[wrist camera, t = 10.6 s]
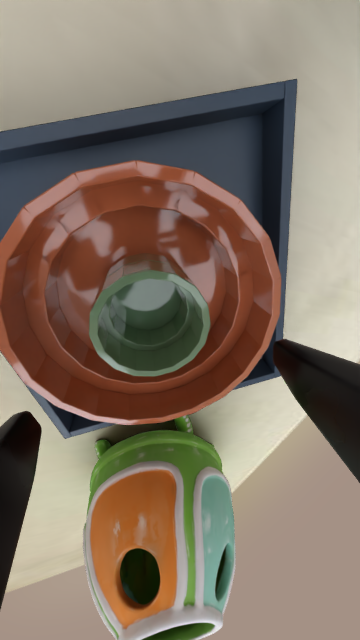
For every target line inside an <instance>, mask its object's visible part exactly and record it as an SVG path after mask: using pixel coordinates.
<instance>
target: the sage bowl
mask: <svg viewBox="0 0 360 640" xmlns="http://www.w3.org/2000/svg"><path fill="white" fill-rule="evenodd" d="M210 326H211V322H210V315H209V307H208V304H207V302H206V301H205V299H204V298H203V296H202V295H201V293H200V291H199V290H198V288H197V287H196V286H195V284H194V283H193V282H192V281H191V279H190V278H189V277H188V275H187V274H186V273H185V272H184V270H183V269H182V268H181V267H180V266H179V265H178V264H176V263H175V262H173V261H172V260H170V259H168V258H167V257H164V256H162V255H156V254H150V253H141V254H137V255H132V256H128V257H125V258H123V259H122V260H121V261H119V262H118V263H117V264H115V265H114V266H113V267H111V268H110V269H109V270H108V272H107V274H106V276H105V277H104V279H103V281H102V283H101V285H100V287H99V290H98V293H97V295H96V298H95V300H94V303H93V306H92V308H91V311H90V315H89V337H90V339H91V341H92V343H93V345H94V347H95V350H96V352H97V354H98V355H99V356H100V357H101V358H102V359H103V360H105V361H106V362H107V363H108V364H109V365H110V366H111V367H113V368H114V369H116V370H119V371H122V372H124V373H127V374H130V375H133V376H153V377H155V376H159V375H163V374H166V373H170V372H174V371H176V370H178V369H179V368H181V367H182V366H184V365H185V364H187V363H189V362H190V361H192V359H194V358H195V356H196V355H197V354H198V352H199V351H200V350H201V349H202V347H203V346H204V345H205V343H206V339H207V336H208V333H209V329H210Z"/></svg>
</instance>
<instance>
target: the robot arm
mask: <svg viewBox="0 0 360 640" xmlns="http://www.w3.org/2000/svg"><path fill="white" fill-rule="evenodd" d="M273 362H274V364H275V366H276V368H277V369H278V371H279V373H280V374H281V376H282V378H283V379H284V381H285V382H286V384H287V386H288V387H289V389H290V391H291V392H292V394H293V395H294V397H295V399H296V400H297V401H298V403H299V404H300V405H301V407H302V408H303V409H304V411H305V412H306V413H307V415H308V416H309V417H310V419H311V420H312V421H313V422H314V424H315V425H316V426H317V428H318V429H319V430H320V431H321V433H322V434H323V436H324V437H325V438H326V439H327V441H328V442H329V443H330V445H331V446H332V447H333V449H334V450H335V451H336V452H337V454H338V455H339V456H340V458H341V459H342V460H343V462H344V463H345V464H346V465H347V467H348V468H349V470H350V471H351V472H352V473H353V475H354V476H355V477H356V479H357V480H358V481H359V483H360V364H357V363H354V362H351V361H348V360H345V359H342V358H339V357H336V356H334V355H331V354H328V353H325V352H322V351H319V350H316V349H313V348H310V347H307V346H304V345H301V344H298V343H295V342H293V341H290V340H287V339H282V340H278V341H275V342H274V344H273ZM40 439H41V426H40V424H39V423H38V422H37V420H36V419H35V418H34V416H33V415H32V414H31V413H30V412H28V411H24V412H20V413H17V414H14V415H13V416H12V417H11V418H10V419H8V420H7V421H6V422H5V423H4V424H3V425H2V426H1V427H0V609H1V605H2V601H3V598H4V594H5V590H6V586H7V582H8V578H9V574H10V571H11V567H12V563H13V559H14V555H15V551H16V547H17V543H18V540H19V536H20V532H21V528H22V524H23V520H24V516H25V512H26V509H27V505H28V501H29V497H30V493H31V489H32V485H33V481H34V476H35V471H36V464H37V458H38V451H39V445H40Z"/></svg>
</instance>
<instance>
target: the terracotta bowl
mask: <svg viewBox="0 0 360 640" xmlns="http://www.w3.org/2000/svg"><path fill="white" fill-rule="evenodd" d="M141 253H150V254H156V255H162V256H164V257H167V258H168V259H170V260H172V261H173V262H175V263H176V264H178V265H179V266H180V267H181V268H182V269H183V270H184V272H185V273H186V274H187V275H188V277H189V278H190V279H191V281H192V282H193V283H194V284H195V286H196V287H197V288H198V290H199V291H200V293H201V295H202V296H203V298H204V299H205V301H206V302H207V304H208V307H209V315H210V322H211V326H210V329H209V333H208V336H207V339H206V343H205V345H204V346H203V347H202V349H201V350H200V351H199V352H198V354H197V355H196V356H195V358H194V359H192V361H190V362H189V363H187V364H185V365H184V366H182V367H181V368H179V369H178V370H176V371H174V372H170V373H166V374H163V375H159V376H155V377H153V376H133V375H130V374H127V373H124V372H122V371H119V370H116V369H114V368H113V367H111V366H110V365H109V364H108V363H107V362H106V361H105V360H103V359H102V358H101V357H100V356H99V355H98V354H97V352H96V350H95V347H94V345H93V343H92V341H91V339H90V337H89V315H90V311H91V308H92V306H93V303H94V300H95V298H96V295H97V293H98V290H99V287H100V285H101V283H102V281H103V279H104V277H105V276H106V274H107V272H108V270H109V269H110V268H111V267H113V266H114V265H115V264H117V263H118V262H119V261H121V260H122V259H123V258H125V257H128V256H132V255H137V254H141ZM280 300H281V274H280V270H279V267H278V264H277V260H276V257H275V254H274V250H273V247H272V243H271V240H270V238H269V236H268V234H267V233H266V232H265V230H264V229H263V228H262V226H261V225H260V224H259V222H258V221H257V220H256V218H255V217H254V216H253V214H252V213H251V212H250V210H249V209H248V208H247V206H246V205H245V204H244V202H243V201H242V200H241V199H240V198H238V197H237V196H235V195H234V194H232V193H230V192H229V191H227V190H225V189H224V188H222V187H221V186H219V185H217V184H216V183H214V182H213V181H211V180H209V179H208V178H206V177H205V176H203V175H201V174H200V173H198V172H196V171H194V170H189V169H184V168H178V167H173V166H167V165H162V164H157V163H151V162H146V161H140V160H132V161H127V162H122V163H117V164H112V165H106V166H101V167H96V168H91V169H86V170H81V171H76V172H75V173H72V174H70V175H69V176H67V177H66V178H64V179H63V180H61V181H60V182H58V183H57V184H55V185H54V186H52V187H51V188H49V189H48V190H46V191H45V192H43V193H42V194H40V195H39V196H37V197H36V198H34V199H33V200H31V201H30V202H28V203H27V204H25V205H24V207H22V209H21V210H20V212H19V213H18V215H17V217H16V218H15V220H14V221H13V223H12V224H11V226H10V228H9V229H8V231H7V232H6V234H5V236H4V237H3V239H2V240H1V242H0V351H1V352H2V354H3V355H4V356H5V358H6V359H7V360H8V362H9V363H10V365H11V366H12V367H13V369H14V370H15V371H16V373H17V374H18V375H19V377H20V378H21V379H22V381H23V382H24V383H25V384H26V385H27V386H29V387H30V388H32V389H33V390H34V391H36V392H37V393H38V394H40V395H41V396H42V397H44V398H45V399H47V400H48V401H49V402H51V403H52V404H53V405H55V406H57V407H58V408H61V409H64V410H66V411H69V412H71V413H74V414H77V415H79V416H82V417H84V418H87V419H90V420H93V421H100V422H107V423H115V424H122V425H137V424H150V423H161V422H166V421H169V420H172V419H176V418H179V417H182V416H186V415H189V414H193V413H195V412H197V411H199V410H201V409H203V408H204V407H206V406H208V405H210V404H212V403H214V402H216V401H217V400H219V399H221V398H223V397H224V396H226V395H227V394H228V393H229V392H230V391H231V390H232V389H234V388H235V387H236V386H237V385H238V384H239V383H240V382H242V381H243V380H244V379H245V378H246V377H247V376H248V375H249V374H250V373H251V371H252V370H253V368H254V367H255V365H256V364H257V363H258V361H259V360H260V358H261V357H262V355H263V354H264V353H265V351H266V350H267V348H268V346H269V343H270V341H271V338H272V335H273V332H274V330H275V327H276V324H277V321H278V318H279V316H280V315H279V314H280Z"/></svg>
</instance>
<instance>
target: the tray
mask: <svg viewBox="0 0 360 640" xmlns="http://www.w3.org/2000/svg"><path fill="white" fill-rule="evenodd" d="M296 94H297V79H293V80H287V81H285V82H284V81H282V82H276V83H271V84H265V85H259V86H254V87H248V88H243V89H237V90H231V91H226V92H220V93H215V94H209V95H203V96H198V97H192V98H186V99H181V100H175V101H170V102H164V103H158V104H153V105H147V106H142V107H136V108H130V109H125V110H119V111H113V112H108V113H102V114H97V115H91V116H85V117H80V118H74V119H69V120H63V121H57V122H52V123H46V124H40V125H35V126H29V127H24V128H18V129H12V130H7V131H1V132H0V242H1V240H2V239H3V237H4V236H5V234H6V232H7V231H8V229H9V228H10V226H11V224H12V223H13V221H14V220H15V218H16V217H17V215H18V213H19V212H20V210H21V209H22V207H24V205H25V204H27V203H28V202H30V201H31V200H33V199H34V198H36V197H37V196H39V195H40V194H42V193H43V192H45V191H46V190H48V189H49V188H51V187H52V186H54V185H55V184H57V183H58V182H60V181H61V180H63V179H64V178H66V177H67V176H69V175H70V174H72V173H75V172H76V171H81V170H86V169H91V168H96V167H101V166H106V165H112V164H117V163H122V162H127V161H132V160H140V161H146V162H151V163H157V164H162V165H167V166H173V167H178V168H184V169H189V170H194V171H196V172H198V173H200V174H201V175H203V176H205V177H206V178H208V179H209V180H211V181H213V182H214V183H216V184H217V185H219V186H221V187H222V188H224V189H225V190H227V191H229V192H230V193H232V194H234V195H235V196H237V197H238V198H240V199H241V200H242V201H243V202H244V204H245V205H246V206H247V208H248V209H249V210H250V212H251V213H252V214H253V216H254V217H255V218H256V220H257V221H258V222H259V224H260V225H261V226H262V228H263V229H264V230H265V232H266V233H267V234H268V236H269V238H270V240H271V243H272V247H273V250H274V254H275V257H276V260H277V264H278V267H279V270H280V274H281V300H280V314H279V315H280V316H279V318H278V321H277V324H276V327H275V330H274V332H273V335H272V338H271V341H270V343H269V346H268V348H267V350H266V351H265V353H264V354H263V355H262V357H261V358H260V360H259V361H258V363H257V364H256V365H255V367H254V368H253V370H252V371H251V373H250V374H249V375H248V376H247V377H246V378H245V379H244V380H243V381H242V382H240V383H239V384H238V385H237V386H236V387H235V388H234V389H232V390H235V389H238V388H241V387H245V386H248V385H252V384H255V383H259V382H262V381H265V380H269V379H272V378H276V377H279V376H281V374H280V373H279V371H278V369H277V368H276V366H275V364H274V362H273V344H274V342H275V341H278V340H282V339H283V327H284V309H285V291H286V273H287V255H288V237H289V219H290V201H291V183H292V165H293V147H294V130H295V112H296ZM1 353H2V352H1ZM3 356H4V355H3ZM4 357H5V356H4ZM6 360H7V359H6ZM7 361H8V360H7ZM9 364H10V363H9ZM12 368H13V367H12ZM15 372H16V371H15ZM17 375H18V374H17ZM18 376H19V375H18ZM20 379H21V378H20ZM21 380H22V379H21ZM23 383H24V382H23ZM24 384H25V383H24ZM25 385H26V384H25ZM26 387H27V388H28V389H29V391H30V392H31V394H32V395H33V396H34V398H35V399H36V400H37V402H38V403H39V404H40V406H41V407H42V408H43V410H44V411H45V413H46V414H47V415H48V417H49V418H50V419H51V421H52V422H53V423H54V425H55V426H56V427H57V429H58V430H59V432H60V433H61V434H62V436H63V437H64V438H65V439H66V438H70V437H72V436H77V435H80V434H83V433H87V432H90V431H94V430H97V429H101V428H104V427H108V426H111V425H114V424H115V423H107V422H100V421H93V420H90V419H87V418H84V417H82V416H79V415H77V414H74V413H71V412H69V411H66V410H64V409H61V408H58V407H57V406H55V405H53V404H52V403H51V402H49V401H48V400H47V399H45V398H44V397H42V396H41V395H40V394H38V393H37V392H36V391H34V390H33V389H32V388H30V387H29V386H27V385H26Z"/></svg>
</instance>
